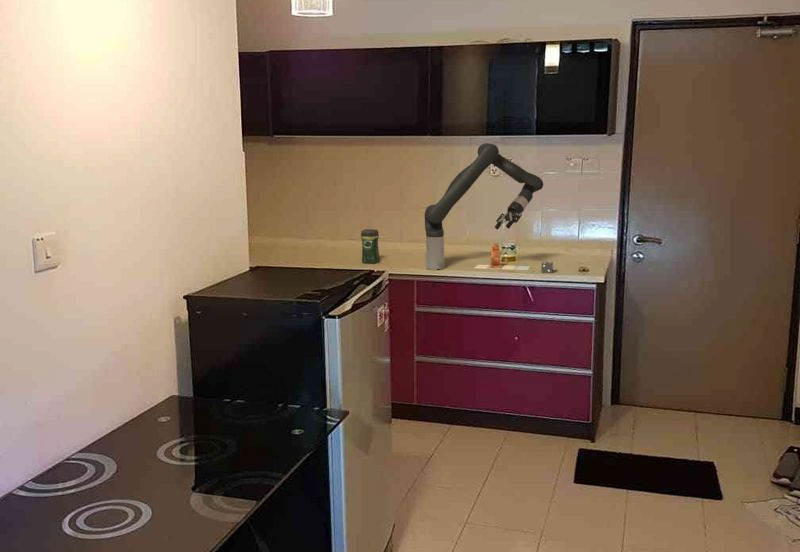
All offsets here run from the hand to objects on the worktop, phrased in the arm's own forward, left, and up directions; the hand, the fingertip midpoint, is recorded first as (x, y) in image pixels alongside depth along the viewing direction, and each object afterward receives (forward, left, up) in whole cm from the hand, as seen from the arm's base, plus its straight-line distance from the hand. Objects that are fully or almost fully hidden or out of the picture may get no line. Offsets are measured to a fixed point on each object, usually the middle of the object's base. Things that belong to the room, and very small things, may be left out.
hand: (501, 227), depth 392 cm
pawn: (-3, -3, -20) cm, 20 cm away
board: (+1, -3, -21) cm, 22 cm away
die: (+24, -4, -22) cm, 32 cm away
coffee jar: (-74, +5, -22) cm, 77 cm away
